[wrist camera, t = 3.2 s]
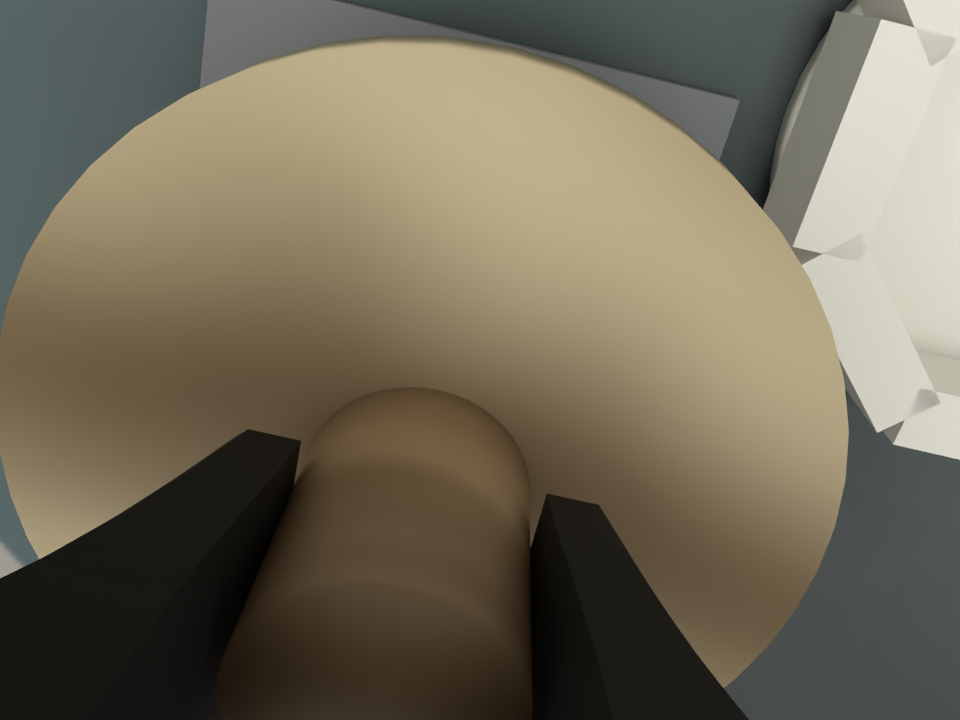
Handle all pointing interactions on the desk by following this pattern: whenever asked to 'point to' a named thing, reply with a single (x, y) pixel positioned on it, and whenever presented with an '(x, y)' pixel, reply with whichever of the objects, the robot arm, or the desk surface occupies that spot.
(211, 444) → the lid
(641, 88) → the mat
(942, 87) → the bowl
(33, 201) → the desk surface
